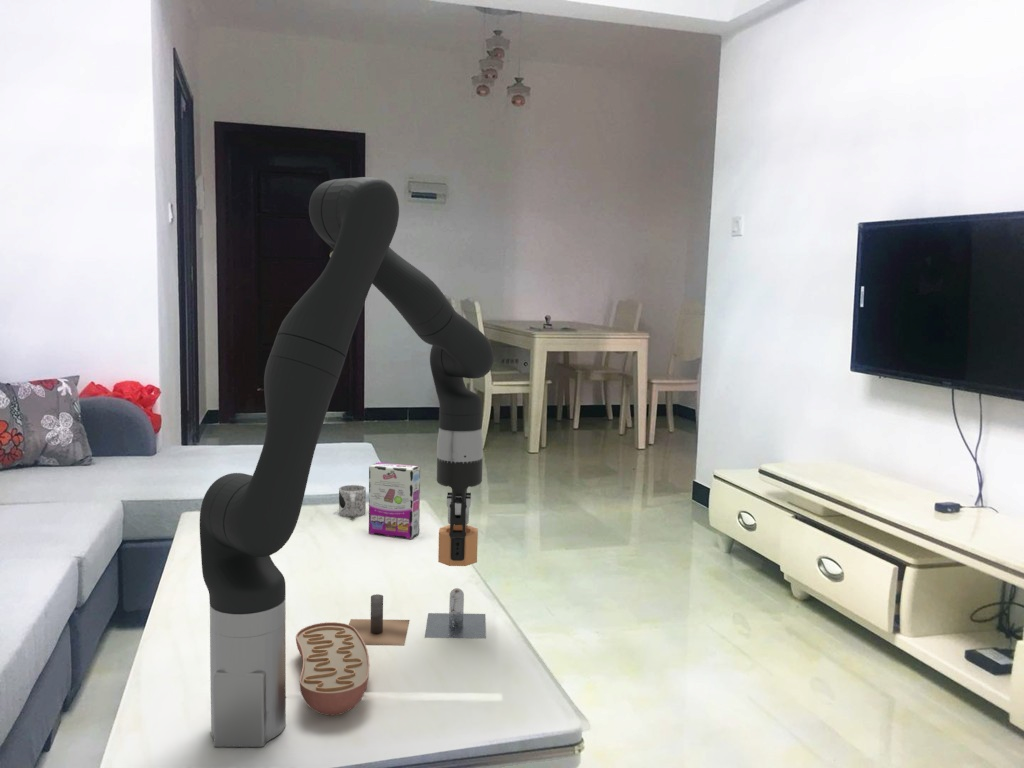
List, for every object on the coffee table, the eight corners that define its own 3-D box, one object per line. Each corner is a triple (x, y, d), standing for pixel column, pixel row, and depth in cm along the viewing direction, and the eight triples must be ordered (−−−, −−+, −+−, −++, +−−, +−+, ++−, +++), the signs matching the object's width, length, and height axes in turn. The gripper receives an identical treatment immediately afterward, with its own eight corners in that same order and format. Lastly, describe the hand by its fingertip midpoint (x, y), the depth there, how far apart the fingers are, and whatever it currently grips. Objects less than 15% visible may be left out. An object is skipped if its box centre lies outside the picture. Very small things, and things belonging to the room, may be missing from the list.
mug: (338, 510, 209) (339, 485, 208) (365, 509, 210) (365, 484, 209) (338, 521, 199) (339, 495, 198) (366, 520, 200) (366, 494, 199)
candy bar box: (420, 533, 191) (421, 465, 189) (411, 539, 186) (412, 469, 184) (377, 528, 194) (377, 461, 192) (367, 534, 189) (368, 465, 187)
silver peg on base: (485, 644, 132) (487, 600, 132) (424, 643, 132) (425, 599, 131) (485, 619, 142) (486, 578, 141) (428, 618, 142) (428, 577, 141)
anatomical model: (294, 655, 127) (294, 624, 126) (358, 649, 130) (359, 619, 129) (300, 732, 105) (300, 696, 104) (377, 723, 108) (378, 687, 107)
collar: (476, 566, 133) (477, 536, 132) (437, 565, 132) (438, 536, 132) (477, 553, 139) (477, 525, 138) (439, 553, 139) (440, 524, 138)
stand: (404, 651, 129) (404, 608, 128) (340, 650, 128) (341, 608, 128) (409, 625, 139) (410, 586, 138) (350, 624, 138) (351, 585, 138)
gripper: (482, 465, 127) (480, 568, 129) (482, 446, 141) (480, 540, 143) (434, 464, 126) (433, 567, 128) (439, 446, 141) (437, 539, 143)
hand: (458, 552), depth 136 cm, fingers closed on collar, 6 cm apart
